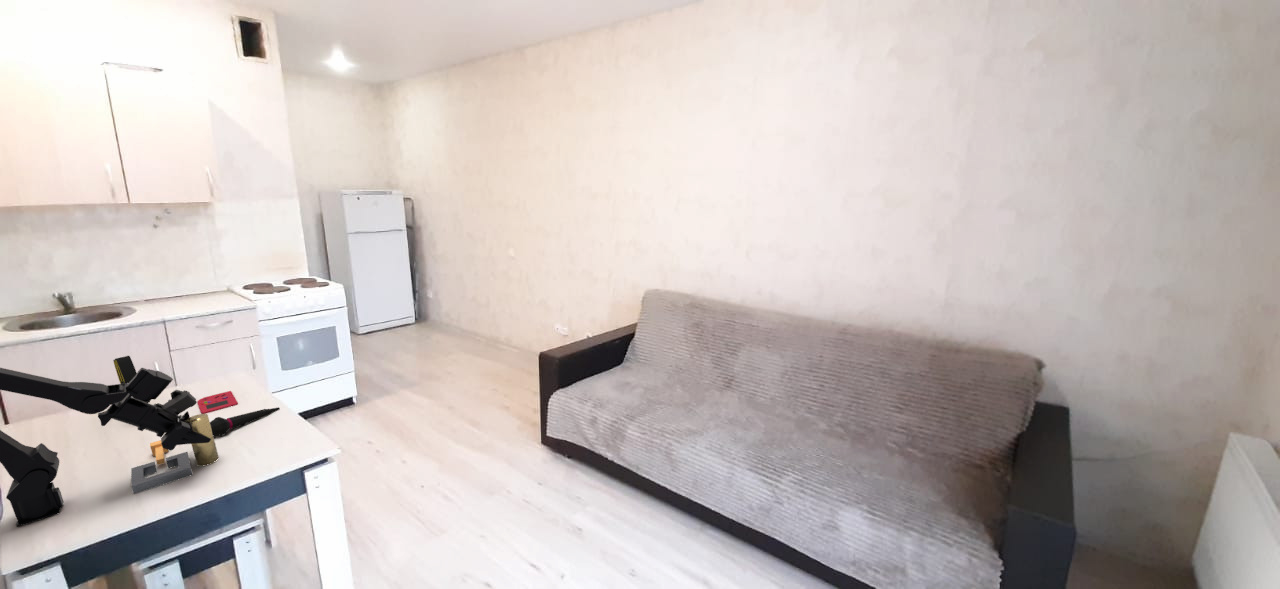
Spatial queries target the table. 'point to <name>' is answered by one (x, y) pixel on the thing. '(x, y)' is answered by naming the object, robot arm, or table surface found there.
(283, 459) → the table surface
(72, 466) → the table surface
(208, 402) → the handheld gaming console
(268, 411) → the microphone
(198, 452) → the ball
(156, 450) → the pin
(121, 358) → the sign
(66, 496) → the table surface
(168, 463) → the frame
